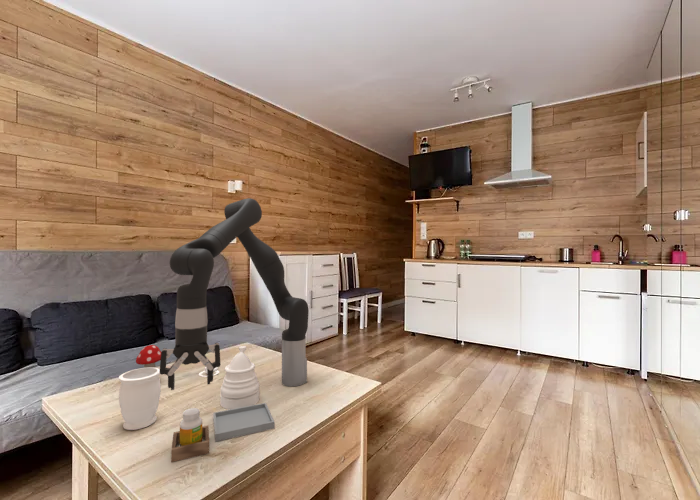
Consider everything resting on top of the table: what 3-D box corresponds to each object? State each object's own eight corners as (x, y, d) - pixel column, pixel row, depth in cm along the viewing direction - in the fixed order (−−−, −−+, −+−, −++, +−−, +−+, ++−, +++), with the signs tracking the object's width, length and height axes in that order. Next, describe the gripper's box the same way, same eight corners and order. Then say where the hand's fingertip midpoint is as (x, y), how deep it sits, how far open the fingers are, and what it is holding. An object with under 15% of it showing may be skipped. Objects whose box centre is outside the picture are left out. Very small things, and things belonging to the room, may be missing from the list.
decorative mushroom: (152, 390, 121) (152, 349, 121) (129, 389, 122) (129, 349, 122) (168, 379, 131) (168, 342, 131) (147, 379, 132) (147, 341, 132)
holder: (208, 435, 92) (208, 425, 92) (209, 453, 85) (209, 441, 85) (173, 443, 89) (173, 432, 89) (171, 462, 81) (171, 450, 81)
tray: (266, 408, 108) (266, 402, 108) (274, 428, 96) (274, 421, 96) (213, 419, 101) (213, 412, 101) (215, 441, 90) (215, 434, 90)
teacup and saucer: (214, 368, 145) (214, 359, 145) (224, 372, 140) (224, 363, 140) (194, 374, 137) (194, 365, 137) (205, 379, 133) (205, 369, 133)
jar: (129, 436, 92) (129, 383, 92) (112, 425, 97) (112, 375, 97) (167, 420, 101) (167, 371, 101) (149, 411, 106) (149, 364, 106)
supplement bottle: (193, 456, 83) (193, 417, 83) (174, 453, 85) (174, 415, 84) (206, 443, 89) (206, 407, 89) (188, 441, 90) (189, 405, 90)
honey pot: (229, 392, 120) (229, 343, 120) (264, 393, 120) (264, 343, 120) (213, 409, 108) (213, 354, 108) (252, 410, 107) (252, 355, 107)
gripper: (219, 319, 93) (219, 376, 93) (161, 323, 87) (161, 385, 87) (221, 325, 86) (220, 387, 86) (158, 330, 80) (158, 396, 80)
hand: (190, 386), depth 87 cm, fingers open, 8 cm apart
